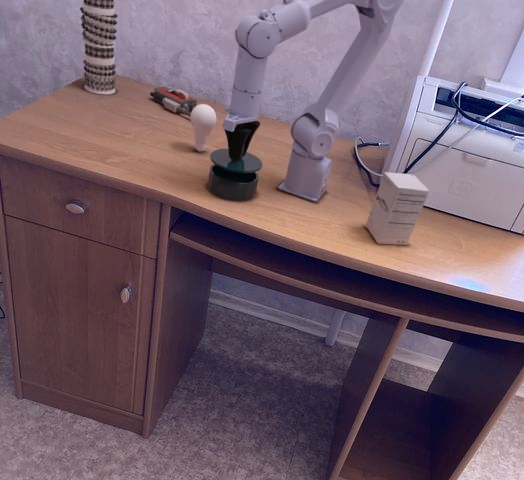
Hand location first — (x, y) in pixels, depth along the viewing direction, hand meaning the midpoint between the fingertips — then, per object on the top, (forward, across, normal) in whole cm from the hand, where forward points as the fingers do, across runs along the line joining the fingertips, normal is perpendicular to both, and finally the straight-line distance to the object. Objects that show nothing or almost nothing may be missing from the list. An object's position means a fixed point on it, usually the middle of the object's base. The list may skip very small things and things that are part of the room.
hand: (237, 156), depth 111 cm
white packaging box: (+8, -4, +35) cm, 36 cm away
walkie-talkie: (+8, -37, -33) cm, 50 cm away
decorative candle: (+8, -32, -56) cm, 65 cm away
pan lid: (+1, 0, 0) cm, 1 cm away
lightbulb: (+8, -14, -15) cm, 22 cm away
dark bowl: (+8, 0, 0) cm, 8 cm away
